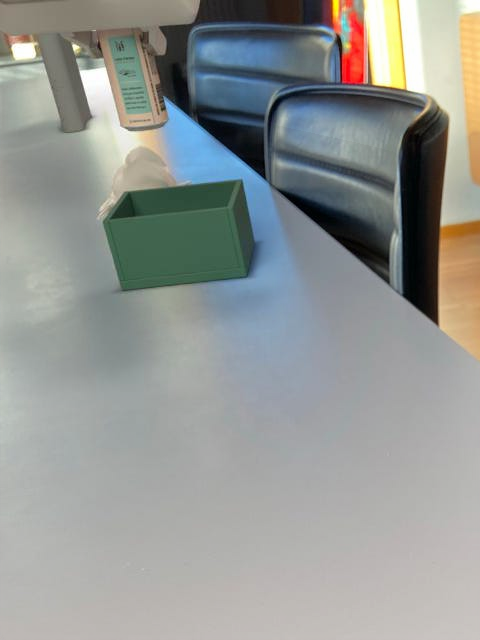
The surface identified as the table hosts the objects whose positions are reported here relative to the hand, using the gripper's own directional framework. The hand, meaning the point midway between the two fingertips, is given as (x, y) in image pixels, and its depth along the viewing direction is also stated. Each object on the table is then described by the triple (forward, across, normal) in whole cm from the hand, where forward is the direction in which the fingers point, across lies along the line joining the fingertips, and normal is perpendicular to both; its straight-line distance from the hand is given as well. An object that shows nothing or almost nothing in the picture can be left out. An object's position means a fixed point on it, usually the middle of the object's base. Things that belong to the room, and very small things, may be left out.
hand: (130, 50), depth 97 cm
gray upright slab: (+83, +69, -52) cm, 120 cm away
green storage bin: (+18, +1, +12) cm, 22 cm away
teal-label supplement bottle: (+4, 0, +5) cm, 7 cm away
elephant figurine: (+28, +13, +2) cm, 31 cm away
